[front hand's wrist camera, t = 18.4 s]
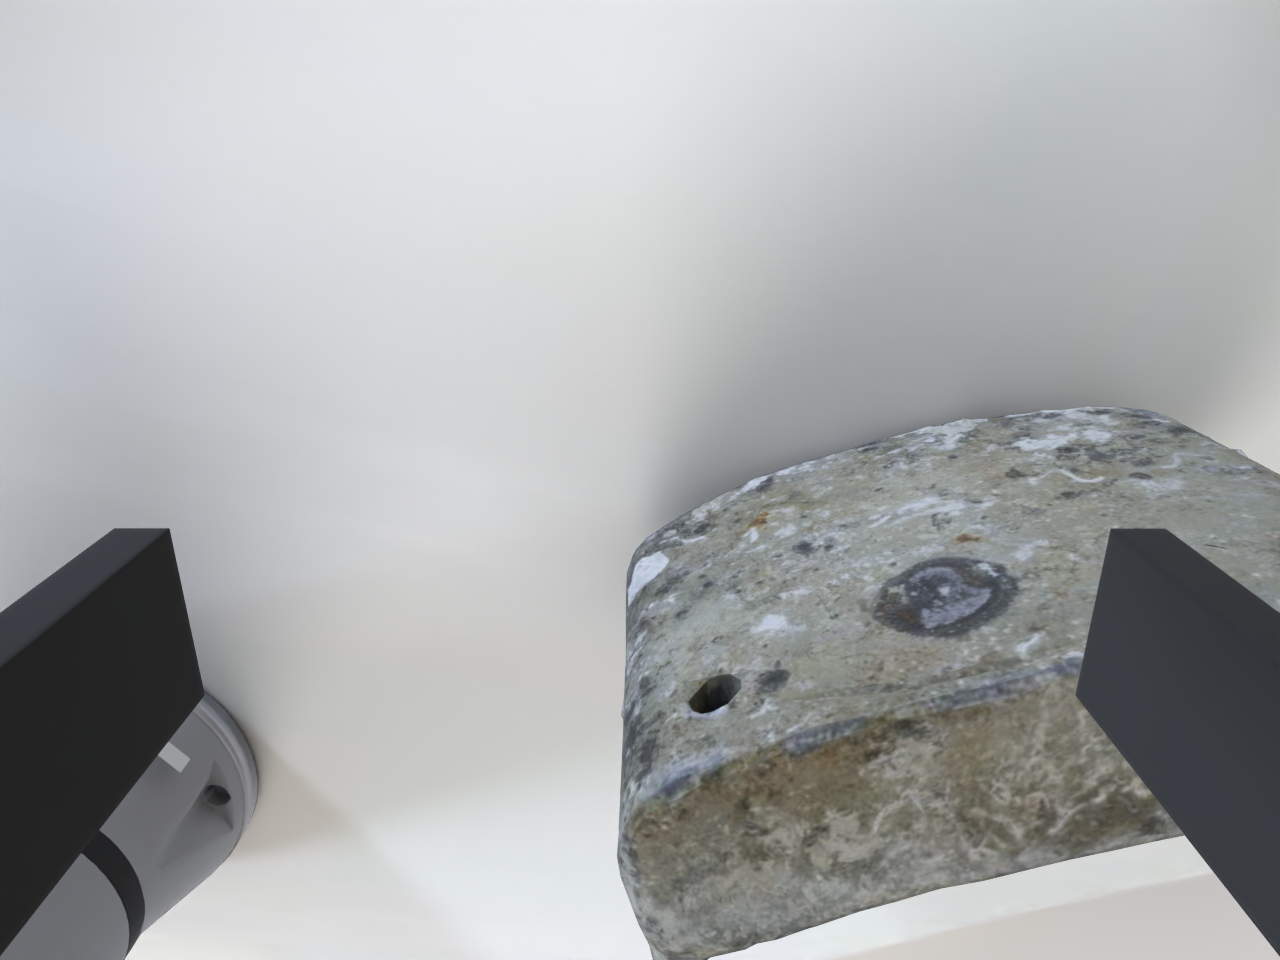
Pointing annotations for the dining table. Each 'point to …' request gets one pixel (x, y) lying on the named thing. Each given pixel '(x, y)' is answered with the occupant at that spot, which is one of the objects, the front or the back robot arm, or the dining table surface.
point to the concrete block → (898, 668)
